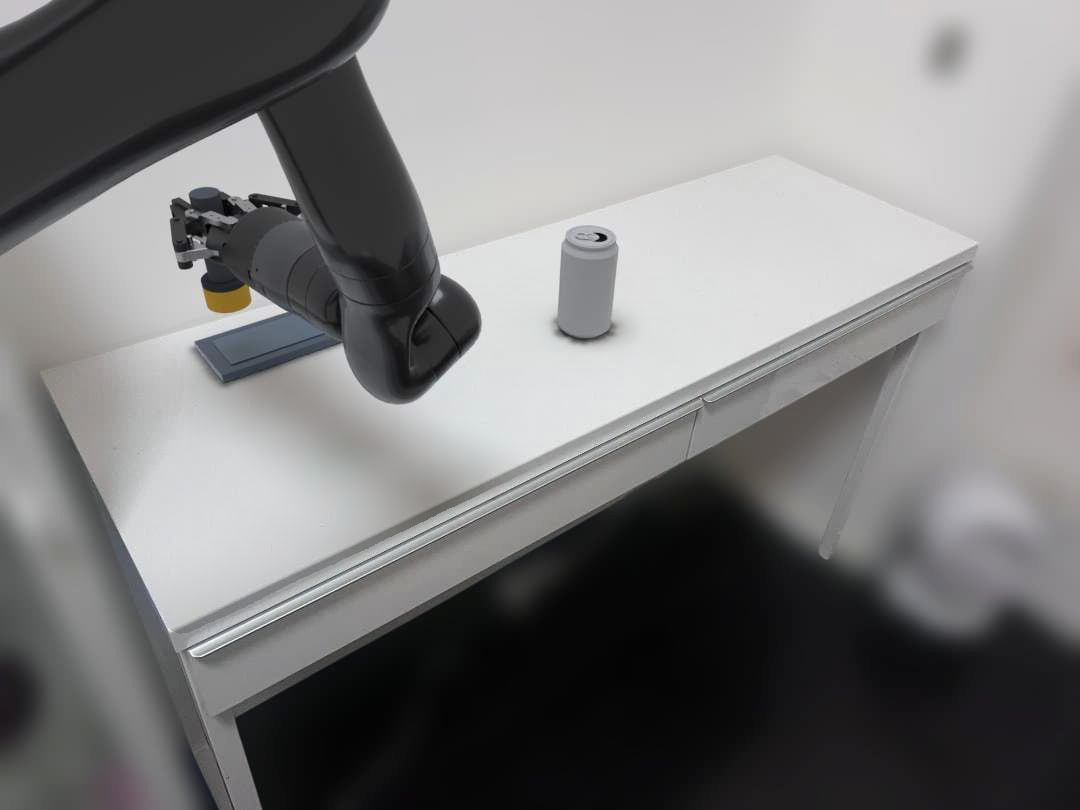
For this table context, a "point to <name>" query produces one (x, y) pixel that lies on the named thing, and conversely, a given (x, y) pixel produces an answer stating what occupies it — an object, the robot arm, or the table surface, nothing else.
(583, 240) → the beverage can
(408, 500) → the table surface
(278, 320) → the plate
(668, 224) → the table surface
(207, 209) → the sponge wand
